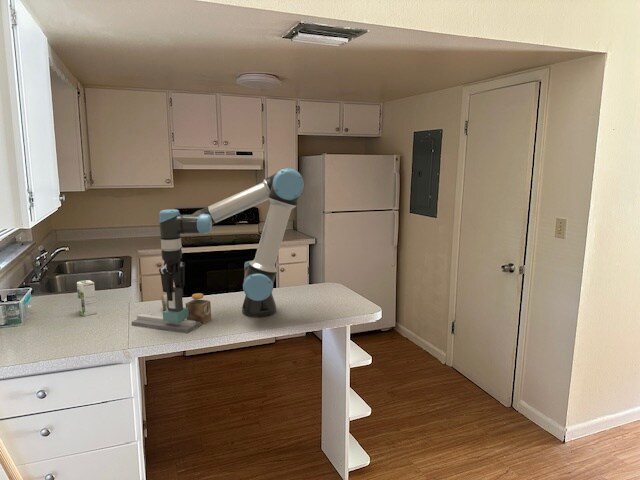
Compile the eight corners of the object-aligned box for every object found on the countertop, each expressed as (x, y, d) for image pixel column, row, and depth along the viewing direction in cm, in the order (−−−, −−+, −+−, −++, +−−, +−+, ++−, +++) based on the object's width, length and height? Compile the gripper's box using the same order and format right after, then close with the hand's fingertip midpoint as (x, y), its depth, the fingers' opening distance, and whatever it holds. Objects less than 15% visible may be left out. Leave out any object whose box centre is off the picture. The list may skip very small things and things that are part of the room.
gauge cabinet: (212, 319, 187) (211, 300, 186) (204, 324, 181) (203, 304, 180) (195, 317, 190) (194, 298, 188) (186, 321, 184) (185, 302, 183)
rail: (200, 325, 180) (200, 318, 180) (187, 333, 172) (186, 325, 171) (147, 318, 189) (146, 311, 189) (131, 325, 181) (131, 318, 180)
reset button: (205, 296, 185) (205, 293, 185) (199, 299, 181) (199, 296, 181) (196, 295, 187) (196, 292, 187) (190, 298, 183) (189, 295, 182)
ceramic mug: (161, 308, 202) (160, 292, 200) (180, 305, 206) (179, 289, 204) (164, 315, 193) (163, 298, 191) (184, 312, 196) (183, 296, 195)
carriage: (188, 317, 180) (186, 286, 178) (177, 322, 174) (175, 291, 172) (174, 315, 183) (172, 285, 180) (163, 320, 176) (160, 290, 174)
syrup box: (78, 313, 195) (75, 281, 193) (93, 310, 200) (89, 279, 197) (83, 316, 192) (79, 284, 189) (97, 313, 196) (94, 281, 193)
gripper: (176, 244, 182) (180, 299, 186) (149, 252, 167) (153, 311, 171) (192, 246, 179) (195, 301, 184) (165, 253, 165) (169, 314, 169)
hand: (175, 306), depth 177 cm, fingers closed on carriage, 3 cm apart
